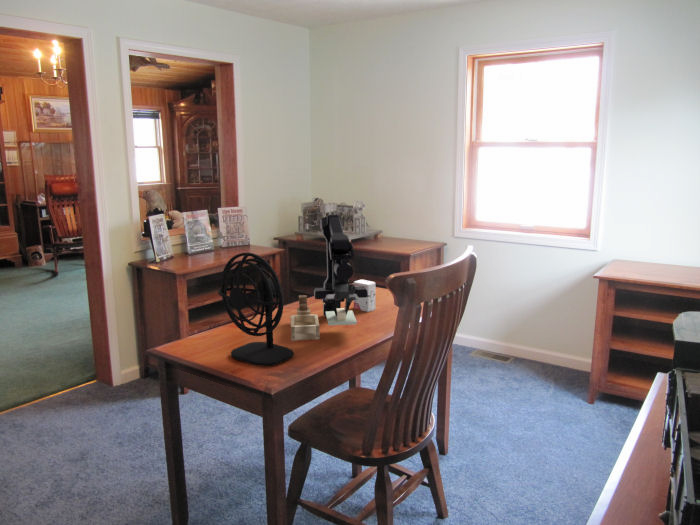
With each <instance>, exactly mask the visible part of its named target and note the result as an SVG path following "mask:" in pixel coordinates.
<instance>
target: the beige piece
mask: <svg viewBox="0 0 700 525" xmlns="http://www.w3.org/2000/svg"><path fill="white" fill-rule="evenodd" d="M310 307H311V306H310ZM310 307H308V306H307V310H300V309H299V307H297V308H296V314H291V315H290V339H291V340H290V341H308V340H310V339H312V340H320V339H321V338H320V336H321V335H320V333H321V332H320V329H321V328H320V323H319V317H318V313H314V314H311V308H310ZM310 341H311V340H310Z"/></svg>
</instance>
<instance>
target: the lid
mask: <svg viewBox="0 0 700 525" xmlns="http://www.w3.org/2000/svg"><path fill="white" fill-rule="evenodd" d="M336 309H337V316H336V315H335V312H334V311H326V318H325V319H326V321H327V325H328V326H329V327H330V326H349V325H358V320H357V319H356V316H355V314H354V311H353V310H348V312H347V315H346V311H345V307H341V308H336Z"/></svg>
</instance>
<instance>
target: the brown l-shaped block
mask: <svg viewBox="0 0 700 525" xmlns="http://www.w3.org/2000/svg"><path fill="white" fill-rule="evenodd" d="M298 308H299V309H300V310H307V308H308V295H306V294H305V295H304V294H303V295H302V294H300V295H298Z"/></svg>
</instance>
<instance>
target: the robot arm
mask: <svg viewBox="0 0 700 525" xmlns="http://www.w3.org/2000/svg"><path fill="white" fill-rule="evenodd" d="M343 218H344V217H342V216H341V214H338V213H336V214H335V213H334V214H328V215H326V216H324V217H322V218H321V219H320V222H319V225H320V230H321V234H322V236H323V238H325V243H326V273H327V275H326V279H325V280H324V282H323V287H315V288H314V289H313V296H314V300H321V301H322V303H323V305H322V306H323V307H322V308H323V309H322V313H323V316H324V318H325V319H327V318H326V311H334V312H335V315H336V316H337V309H336V308H342V303H344V302H345V303H344V305H345V306H344V309H345V311H346V315H347V312H348V311H349V309H350V306H351V304H352V303H353V302H354V300H356V298H355V296H356V295H357V296H358V297H359V298H365V297H368V291H367V289H366V288H365V287H364V286H359V287H355V284H354V283H352V284H351V283H349V282H350V281H349V279H351V278H352V276H353V274H354V270H353V267H352V265H351V264H350V260H353V259H354V256H355V251H354V244H352V241H351V240H350V238H349V236H348V235H347V234H345V233H344V230H343V228H344V219H343Z"/></svg>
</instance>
